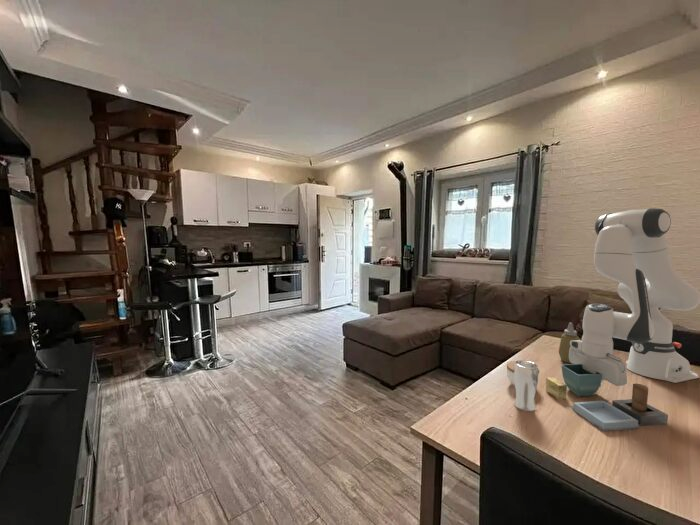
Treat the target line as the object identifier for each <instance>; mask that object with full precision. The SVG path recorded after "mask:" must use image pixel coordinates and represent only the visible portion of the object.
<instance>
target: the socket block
mask: <svg viewBox="0 0 700 525" xmlns="http://www.w3.org/2000/svg"><path fill="white" fill-rule="evenodd" d="M611 405H612V406H614V407H616V408H617V409H619V410H621V411H623V412H624V413H626V414H628V415H629V416H631V417H633V418H635V419H636V420H638V427H645V426H647V427H648V426H657V425H659V426H660V425H661V426H662V425H668V421H669V420H668V419H669V414H667V413H665V412H663V411H661V410H660V409H658V408H656V407H654V406H652V405H650V404H648V403H647V412H639V411H637V410H635V409H633V408H631V405H632V398H628V399H615V400H614V399H613V400H611Z"/></svg>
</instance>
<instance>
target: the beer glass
mask: <svg viewBox="0 0 700 525" xmlns="http://www.w3.org/2000/svg"><path fill="white" fill-rule="evenodd" d="M538 369H539V366H538V364H537V363H536V362H532V361H530V360H525V359H517V360H516V362H515V369H514V382H515V387H514V388H515V398H514V399H515V400H514V406H515V407H516V408H517V409H519V410H521V411H523V412H528V413H529V412H534V411H535V410H536V406H535V395H536V391H537V388H538V387H537V386H538V382H539V374H538Z"/></svg>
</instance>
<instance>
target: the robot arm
mask: <svg viewBox="0 0 700 525" xmlns="http://www.w3.org/2000/svg"><path fill="white" fill-rule="evenodd" d="M671 221H672V220H671V215H670V213H668V211H666V210H665V209H663V208H656V207H655V208H652V207H651V208H647V209H644V208H643V209H629V210H624V211H619V212H614V213H613V212H610V213H606V214H602V215H600V216H599V217H598V219H597V220H596V221H595V224H594V232H595V234H596V235H597V238H596V241H595V245H594V251H593V267H594V269H595V271H596V272H598V273H599V274H600V275H602V277H606V278H608V279H610V280H613V281H615V282H618V283H619V284H618V287H617V294H618V296H619V297H620V298H621V299H622V300H624V302H625V303H626V304H627V305H628V307H629V309H630V311H631V313H629V312H628V313H626V312H619V311H614V308H613V307H612V306H611V305H608V304H605V303H599V302H598V303H591V304H590V303H589V304H587V305H586V307H585V309H584V314H583V318H582V330H583V334H582V336H581V339H579V340H572V341H570V346H571V347H570V349H569V360H570V362H571V363H570V364H582V368H583V369H584V370H586V371H588V372H590V373H592V374H596V372H599V373H601V374H602V379H601V383H600V387H599V388H601V386H602V383H603V382H604V381H605V382H608V383H610V384H611V385H614V386H615V387H620V386H621V387H622V386H623V387H624V386H626V385H627V384H628V374H627V369H628V370H629V371H630V372H632V373H635V374H637V375H639V376H643V377H647V378H650V379H655V380H656V379H657V380H660V381H661V380H662V381H666V382H669V383H673V384H676V383H681V382H686V381H690V380H695V379H699V375H698V373H696V372H694V371H692V370H691V365H690V361H689V360H688V359H687V358H685V357H684V356H683V355H681V354H679V353H678V352H677V351H676V349H680V348H682V343H680V342H676V341H673V340H672V339H673V329H674V328H673V327H674V325H673V323H672V321H671V320H670V319H669V318H667V317H666V316H664V315H663V313H661V310H660V309H665V310H670V311H680V312H681V311H682V312H683V311H684V312H685V311H692V310H694V309H695V308H697V307H698V306H699V304H700V291H699V290H698V289H697V287H695V286H693V285H692V284H690V283H689V282H687V281H686V280H684V279H683V278H682V277H681V276H680V275H679V273H678V272H677V271H676V269H675V268H674V266H673V264H672V261H671V255H670V249H669V244H668V240H667V236H666V233H668V231H669V229H670V227H671V224H672V222H671ZM614 339H620V340H624V341H627V342H630V343H631V346H630V349H629V354H628V360H626V361H625V362H624V361H623V360H622V358H620V357H617V356H615V355H613V353H614V341H613V340H614Z"/></svg>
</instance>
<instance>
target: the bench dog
mask: <svg viewBox="0 0 700 525" xmlns="http://www.w3.org/2000/svg"><path fill="white" fill-rule="evenodd" d="M567 388H568V387H567V385H566V384H565V382H562V381H561V380H559V379H557V378H556V377H553V376H551V377H550V376H549V377H546V378H545V391H546V392H547V393H549V394H550V395H552V397H554V398H556V399H557V400H563V399H567Z"/></svg>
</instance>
